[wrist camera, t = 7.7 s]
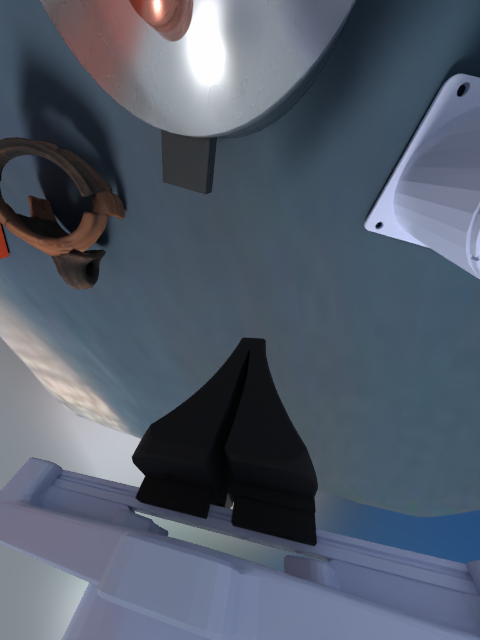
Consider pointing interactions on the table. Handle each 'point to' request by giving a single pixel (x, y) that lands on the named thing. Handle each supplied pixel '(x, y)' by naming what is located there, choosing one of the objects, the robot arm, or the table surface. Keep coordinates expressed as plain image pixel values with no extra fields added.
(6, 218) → the pottery mug
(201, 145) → the cooker pot
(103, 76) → the cooker lid
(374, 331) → the table surface
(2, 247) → the file binder
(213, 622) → the robot arm
